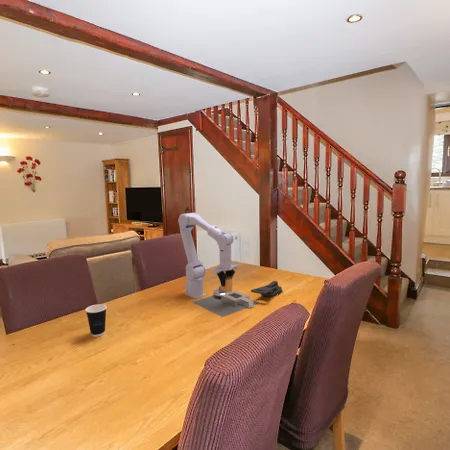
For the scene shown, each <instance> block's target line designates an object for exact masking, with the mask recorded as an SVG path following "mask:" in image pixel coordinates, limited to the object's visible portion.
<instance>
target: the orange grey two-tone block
mask: <svg viewBox="0 0 450 450" xmlns="http://www.w3.org/2000/svg"><path fill="white" fill-rule="evenodd" d="M220 286H221V285H220ZM221 290H224V291H226V292H230V291H232V292H233V277H231V276H228V275H226V279H225V287H223V286H221Z"/></svg>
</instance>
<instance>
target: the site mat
mask: <svg viewBox="0 0 450 450" xmlns="http://www.w3.org/2000/svg"><path fill="white" fill-rule="evenodd" d="M191 303H192V304H193V305H197V306H198V307H200V308H202V309H205V310H207V311H209V312H211V313H213V314H216V315H217V316H220V317H221V318H224V317H227V316H229V315H232V314H235V313H238V312H240V311H243V310H245V309H248V308H247V307H244V306H242V305H238V306H235V307H234V306H232V305H230V304H227V303H225V302H223V301H221V297H218V296H215V295H213V294H212V295H211V296H206V297H204V298H200V299H197V300H194V301H192V302H191ZM255 305H260V303H259V302H258V301H255V300H253V307H254V306H255Z"/></svg>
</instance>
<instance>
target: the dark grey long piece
mask: <svg viewBox="0 0 450 450" xmlns="http://www.w3.org/2000/svg"><path fill="white" fill-rule="evenodd" d="M278 283H279V282H278V281H277V280H273V281H270V283H268V284H267V285H263V286H260V287H257V288H253V289H251V290H250V292H251V293H254V294H259V295H261V296H262V297H265V298H274V297H277V296H278V295H280V294H282V293H283V287H282V286H279V284H278ZM281 292H282V293H281ZM279 293H280V294H279ZM277 294H278V295H277ZM276 295H277V296H276Z"/></svg>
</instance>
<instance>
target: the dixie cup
mask: <svg viewBox="0 0 450 450" xmlns="http://www.w3.org/2000/svg"><path fill="white" fill-rule="evenodd" d="M107 308H108V307H107V305H106V304H99V303H98V304H93V305H89V306H88V307H86V308H85V309H84V310H85V312H86V317H87V322H88V327H89V332H90V335H91V337H93V336H94V338H98V336H99V337H102V336H104V335H105V331H106V321H107V319H106V315H107Z"/></svg>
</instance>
